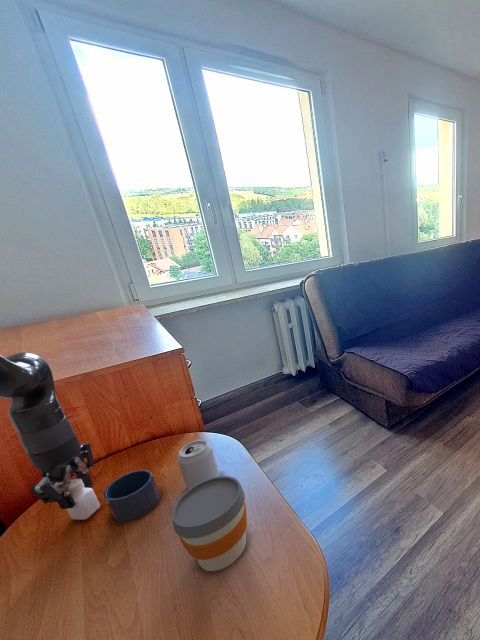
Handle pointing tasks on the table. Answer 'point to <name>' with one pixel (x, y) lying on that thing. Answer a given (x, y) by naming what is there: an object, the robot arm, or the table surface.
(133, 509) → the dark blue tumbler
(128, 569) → the table surface
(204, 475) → the can
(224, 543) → the reusable coffee cup
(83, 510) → the salt shaker
